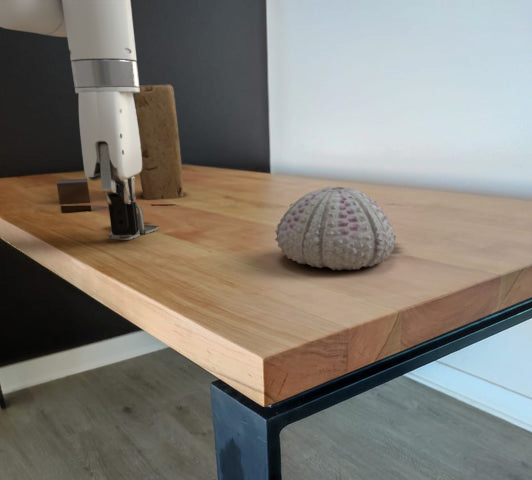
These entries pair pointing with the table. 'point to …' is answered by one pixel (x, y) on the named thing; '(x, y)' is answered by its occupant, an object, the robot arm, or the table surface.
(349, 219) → the sea urchin shell
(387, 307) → the table surface
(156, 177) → the block
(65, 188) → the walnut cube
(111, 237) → the strap clip
